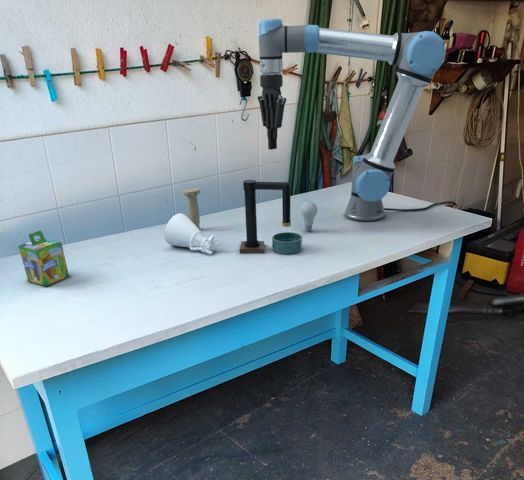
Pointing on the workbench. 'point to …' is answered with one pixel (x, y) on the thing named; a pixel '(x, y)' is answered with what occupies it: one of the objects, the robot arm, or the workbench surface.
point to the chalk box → (43, 260)
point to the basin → (287, 242)
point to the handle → (193, 205)
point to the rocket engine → (188, 235)
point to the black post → (251, 226)
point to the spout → (284, 186)
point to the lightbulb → (308, 214)
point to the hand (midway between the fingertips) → (272, 148)
